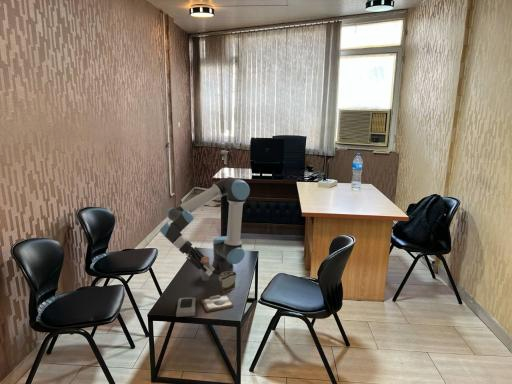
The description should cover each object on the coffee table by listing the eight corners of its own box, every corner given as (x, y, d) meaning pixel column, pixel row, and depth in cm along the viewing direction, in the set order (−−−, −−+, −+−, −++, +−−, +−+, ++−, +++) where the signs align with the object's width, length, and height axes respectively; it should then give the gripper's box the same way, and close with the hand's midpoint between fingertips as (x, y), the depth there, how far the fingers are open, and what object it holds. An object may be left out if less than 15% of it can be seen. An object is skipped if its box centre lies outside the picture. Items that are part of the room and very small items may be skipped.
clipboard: (201, 301, 206) (201, 298, 205) (226, 296, 211) (226, 293, 211) (206, 312, 195) (206, 308, 195) (233, 306, 201) (233, 303, 200)
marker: (201, 278, 212) (200, 257, 209) (208, 276, 214) (207, 256, 211) (203, 281, 208) (202, 260, 205) (210, 279, 209) (209, 259, 206)
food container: (230, 283, 228) (230, 268, 226) (236, 287, 223) (236, 271, 221) (214, 290, 219) (214, 274, 217) (221, 293, 215) (220, 278, 213)
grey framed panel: (176, 311, 190) (178, 296, 205) (176, 317, 191) (178, 302, 206) (194, 310, 191) (195, 295, 206) (194, 316, 192) (195, 301, 207)
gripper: (183, 243, 217) (211, 270, 218) (173, 254, 200) (203, 283, 202) (191, 235, 215) (219, 262, 217) (182, 246, 198) (212, 275, 200)
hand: (211, 272), depth 209 cm, fingers closed on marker, 4 cm apart
